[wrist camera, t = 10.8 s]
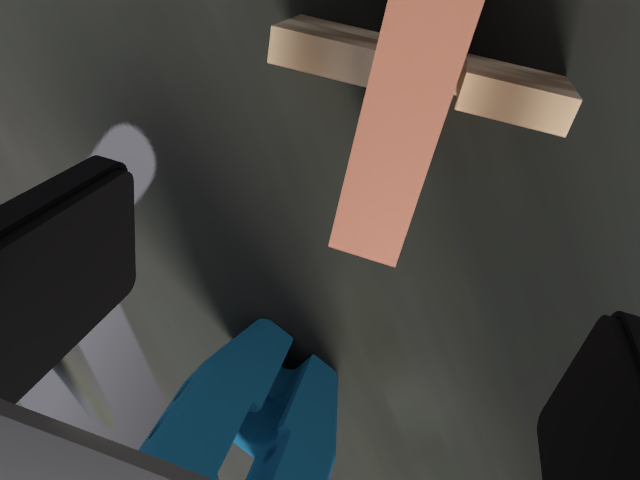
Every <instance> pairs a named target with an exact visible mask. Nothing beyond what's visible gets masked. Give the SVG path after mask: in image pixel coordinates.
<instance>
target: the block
mask: <svg viewBox="0 0 640 480" xmlns="http://www.w3.org/2000/svg"><path fill="white" fill-rule="evenodd" d="M292 342H293V338H292V337H291V336H290V335H289V334H288V333H286V332H285V331H284V330H282V329H281V328H280V327H279V326H277V325H276V324H275V323H274V322H272V321H271V320H268V319H265V318H261V319H258V320H257V321H255V322H254V323H253V324H252V325H250V326H249V327H248V328H247V329H245V330H244V331H243V332H241V333H240V334H239V335H238V336H236V337H235V338H234V339H232V340H231V341H230V342H229V343H227V344H226V345H225V346H224V347H222V348H221V349H220V350H218V351H217V352H216V353H215V354H213V355H212V356H211V357H210V358H208V359H207V360H206V361H204V362H203V363H202V364H201V365H200V366H199V367H198V369H197V370H196V371H195V372H194V373H193V374H192V375H191V376H190V377H189V378H188V379H187V380H186V381H185V382H184V384H183V385H182V387H181V388H180V390H179V391H178V393H177V394H176V395H175V397H174V398H173V400H172V401H171V403H170V404H169V406H168V407H167V409H166V410H165V412H164V413H163V415H162V416H161V418H160V419H159V421H158V422H157V424H156V425H155V427H154V428H153V430H152V431H151V433H150V434H149V436H148V437H147V439H146V440H145V441H144V443H143V445H142V446H141V447H140V449H139V450H138V451H140V452H143V453H146V454H148V455H151V456H153V457H156V458H159V459H161V460H164V461H166V462H169V463H172V464H174V465H177V466H180V467H182V468H185V469H187V470H190V471H193V472H195V473H198V474H200V475H203V476H206V477H208V478H211V479H214V480H219V479H218V475H217V473H218V471H219V469H220V467H221V465H222V463H223V461H224V459H225V457H226V455H227V453H228V451H229V449H230V447H231V445H232V443H235V444H236V445H237V446H239V447H240V448H242V449H243V450H244V451H246V452H247V453H248V454H250V455H251V456H252V457H254V458H255V459H254V461H253V464H252V466H251V468H250V471H249V473H248V475H247V477H246V480H329V478H330V474H331V471H332V467H333V464H334V460H335V457H336V428H337V396H338V375H337V373H336V372H335V371H334V370H333V369H332V368H331V367H330V366H328V365H327V364H326V363H324V362H323V361H322V360H321V359H319V358H318V357H317V356H316V355H312V356H310V357H309V358H308V359H307V360H306V361H305V362H303V363H302V364H301V365H300V366H299V367H297V368H296V369H292V370H290V369H286V368H283V367H282V366H281V365H282V363H283V361H284V359H285V357H286V355H287V352H288V350H289V348H290V346H291V344H292Z"/></svg>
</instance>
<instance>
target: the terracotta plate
mask: <svg viewBox="0 0 640 480" xmlns="http://www.w3.org/2000/svg"><path fill="white" fill-rule="evenodd" d="M484 2H485V0H388V1H387V5H386V10H385V14H384V18H383V22H382V26H381V30H380V34H379V38H378V43H377V47H376V51H375V55H374V59H373V63H372V67H371V72H370V76H369V80H368V84H367V88H366V92H365V96H364V100H363V105H362V109H361V113H360V117H359V121H358V125H357V129H356V134H355V138H354V142H353V146H352V150H351V154H350V158H349V163H348V167H347V171H346V175H345V179H344V183H343V187H342V191H341V196H340V200H339V204H338V208H337V212H336V216H335V220H334V225H333V229H332V233H331V237H330V241H329V245H328V247H332V248H335V249H338V250H341V251H344V252H347V253H351V254H354V255H357V256H360V257H363V258H366V259H370V260H373V261H376V262H379V263H382V264H385V265H389V266H392V267H395V266H396V263H397V260H398V257H399V254H400V251H401V248H402V245H403V242H404V240H405V237H406V234H407V231H408V228H409V225H410V222H411V219H412V216H413V213H414V210H415V207H416V204H417V201H418V198H419V195H420V192H421V189H422V186H423V183H424V180H425V177H426V174H427V171H428V168H429V165H430V162H431V159H432V156H433V153H434V150H435V147H436V144H437V141H438V138H439V136H440V133H441V130H442V127H443V124H444V121H445V118H446V115H447V112H448V109H449V106H450V103H451V100H452V97H453V94H454V91H455V88H456V85H457V82H458V79H459V76H460V73H461V70H462V67H463V64H464V61H465V58H466V55H467V52H468V49H469V46H470V43H471V40H472V37H473V34H474V32H475V29H476V26H477V23H478V20H479V17H480V14H481V11H482V8H483V5H484Z"/></svg>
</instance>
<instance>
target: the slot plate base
mask: <svg viewBox="0 0 640 480" xmlns="http://www.w3.org/2000/svg"><path fill="white" fill-rule="evenodd" d="M379 34H380V33H379V32H375V31H371V30H366V29H362V28H358V27H354V26H349V25H345V24H341V23H337V22H332V21H328V20H324V19H320V18H315V17H311V16H307V15H303V14H300V15H298V16H295V17H292V18H290V19H287V20H284V21H282V22H279V23H277V24H274V25H271V33H270V42H269V51H268V59H267V63H270V64H274V65H278V66H282V67H286V68H290V69H294V70H298V71H302V72H306V73H310V74H314V75H318V76H322V77H326V78H330V79H334V80H338V81H342V82H346V83H350V84H354V85H358V86H362V87H366V88H367V84H368V80H369V76H370V72H371V67H372V63H373V59H374V55H375V51H376V47H377V43H378V38H379ZM453 95H457V97H456V103H455V110H458V111H462V112H466V113H470V114H474V115H478V116H482V117H486V118H490V119H494V120H498V121H502V122H506V123H510V124H514V125H518V126H522V127H526V128H530V129H534V130H538V131H542V132H546V133H550V134H554V135H558V136H562V137H566V135H567V133H568V131H569V129H570V127H571V124H572V122H573V120H574V118H575V116H576V113H577V111H578V109H579V107H580V105H581V102H582V99H581V97H580V96H579V94H578V93H577V91H576V90H575V88H574V87H573V85H572V84H571V82H570V81H569V79H568V78H567V76H562V75H558V74H554V73H550V72H545V71H541V70H537V69H532V68H528V67H524V66H520V65H515V64H511V63H507V62H503V61H498V60H494V59H490V58H486V57H481V56H477V55H473V54H469V53H467V55H466V58H465V61H464V64H463V67H462V70H461V73H460V76H459V79H458V82H457V85H456V88H455V91H454V94H453Z"/></svg>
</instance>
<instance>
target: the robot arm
mask: <svg viewBox="0 0 640 480" xmlns="http://www.w3.org/2000/svg"><path fill="white" fill-rule="evenodd" d="M135 278H136V267H135V222H134V181H133V176H132V174H131V173H130V172H128V170H127V168H126V165H124V164H123V163H121V162H117V161H115V160H111V159H108V158H105V157H101V156H97V155H95V156H92V157H90V158H88V159H86V160H84V161H82V162H80V163H79V164H77V165H75V166H73V167H71V168H69V169H67V170H65V171H64V172H62V173H60V174H58V175H56V176H54V177H52V178H50V179H48V180H47V181H45V182H43V183H41V184H39V185H37V186H35V187H33V188H32V189H30V190H28V191H26V192H24V193H22V194H20V195H18V196H16V197H15V198H13V199H11V200H9V201H7V202H5V203H3V204H1V205H0V480H214V479H211V478H208V477H206V476H203V475H200V474H198V473H195V472H193V471H190V470H187V469H185V468H182V467H180V466H177V465H174V464H172V463H169V462H166V461H164V460H161V459H159V458H156V457H153V456H151V455H148V454H146V453H143V452H140V451H138V450H135V449H132V448H130V447H127V446H124V445H122V444H119V443H117V442H114V441H111V440H109V439H106V438H103V437H101V436H98V435H95V434H93V433H90V432H87V431H85V430H82V429H80V428H77V427H74V426H72V425H69V424H66V423H64V422H61V421H58V420H56V419H53V418H50V417H48V416H45V415H42V414H40V413H37V412H34V411H32V410H29V409H26V408H24V407H21V406H18V405H16V404H15V403H17V402H18V401H19V400H20V399H21V398H22V397H23V396H24V395H25V394H26V393H27V392H28V391H29V390H30V389H31V388H32V387H33V386H34V385H35V384H36V383H37V382H39V381H40V380H41V379H42V378H43V377H44V376H45V374H47V373H48V372H49V371H50V370H51V369H52V368H53V367H54V366H55V365H56V364H57V363H58V362H59V361H60V360H61V359H62V358H63V357H64V356H65V355H66V354H67V353H68V352H69V351H70V350H71V349H72V348H73V347H74V346H75V345H77V344H78V343H79V342H80V341H81V340H82V339H83V338H84V337H85V336H86V335H87V334H88V333H89V332H90V331H91V330H92V329H93V328H94V327H95V326H96V325H97V324H98V323H99V322H100V321H101V320H102V319H103V318H104V317H105V316H106V315H107V314H108V313H109V312H110V311H111V310H112V309H113V308H115V307H116V305H118V304H119V303H120V302H121V301H122V300H123V299H124V298H125V297H126V296H127V295H128V294H129V293H130V291H131V290H132V288H133V286H134V283H135ZM537 435H538V443H539V452H540V461H541V470H542V479H543V480H640V317H639V316H635V315H632V314H629V313H625V312H622V311H616V312H615V313H613V314H612V315H611V316H607V315H603V316H601V317H600V318H599V319H598V321H597V322H596V324H595V326H594V327H593V329H592V330H591V332H590V334H589V335H588V337H587V338H586V340H585V342H584V343H583V345H582V347H581V348H580V350H579V351H578V353H577V355H576V356H575V358H574V359H573V361H572V363H571V364H570V366H569V368H568V369H567V371H566V372H565V374H564V376H563V377H562V379H561V380H560V382H559V384H558V385H557V387H556V389H555V390H554V392H553V393H552V395H551V397H550V398H549V400H548V401H547V403H546V405H545V406H544V408H543V410H542V411H541V413H540V416H539V419H538V424H537Z"/></svg>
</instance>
